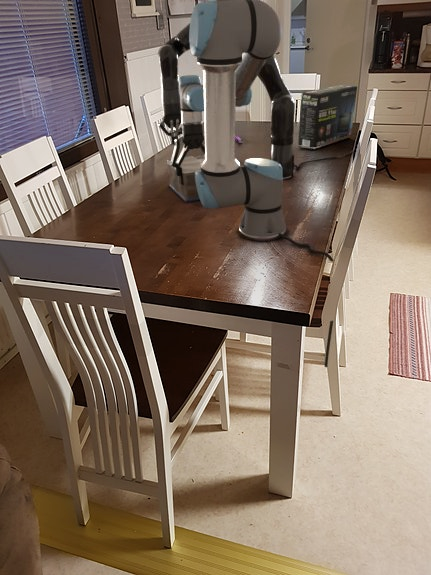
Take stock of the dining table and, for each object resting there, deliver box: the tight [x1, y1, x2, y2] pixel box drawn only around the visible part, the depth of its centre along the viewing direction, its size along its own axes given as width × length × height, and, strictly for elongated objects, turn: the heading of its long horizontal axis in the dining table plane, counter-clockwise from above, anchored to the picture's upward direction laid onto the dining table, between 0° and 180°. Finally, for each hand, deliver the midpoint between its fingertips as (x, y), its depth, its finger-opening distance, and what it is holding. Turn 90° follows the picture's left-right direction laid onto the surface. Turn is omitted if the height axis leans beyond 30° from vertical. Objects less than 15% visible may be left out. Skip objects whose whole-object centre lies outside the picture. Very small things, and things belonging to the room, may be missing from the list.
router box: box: [297, 84, 358, 151], centre depth 238 cm, size 36×11×27 cm, turn 134°
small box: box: [166, 155, 201, 203], centre depth 183 cm, size 21×11×11 cm, turn 22°
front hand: (195, 181), depth 177 cm, fingers closed on small box, 11 cm apart
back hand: (174, 145), depth 191 cm, fingers closed
